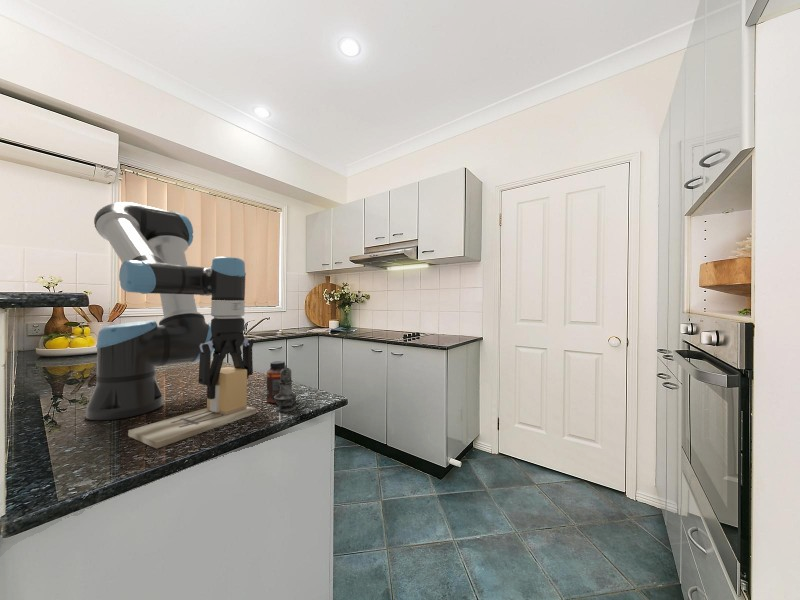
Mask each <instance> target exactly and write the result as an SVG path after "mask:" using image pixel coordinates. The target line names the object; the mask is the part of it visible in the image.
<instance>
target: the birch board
mask: <svg viewBox="0 0 800 600" xmlns="http://www.w3.org/2000/svg"><path fill="white" fill-rule="evenodd" d="M255 414H257V408H255V407H251V406H248V405H247V408H246V409H243V410H240V411H237V412H234V413H231V414H228V415H224V414H220V413H217V412H213V411H209V410H207V407H203V408H200V409H198V410H193V411H191V412H186V413H183V414H180V415H177V416H172V417H169V418H167V419H162V420H159V421H156V422H153V423H149V424H145V425H141V426H138V427H135V428H132V429H128V430H127V436H128V437H129V438H132V439H134V440H137V441H138V442H141V443H143V444H145V445H148V446H149V447H152V448H154V449H160V448H163V447H165V446H166V447H167V446H168V445H171V444H173V443H174V444H175V443H176V442H179V441H183V440H185V439H188V438H190V437H194V436H196V435H199V434H202V433H204V432H207V431H210V430H213V429H216V428H219V427H221V426H224V425H228V424H230V423H233V422H236V421H239V420H241V419H243V418H247V417H250V416H253V415H255Z"/></svg>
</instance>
